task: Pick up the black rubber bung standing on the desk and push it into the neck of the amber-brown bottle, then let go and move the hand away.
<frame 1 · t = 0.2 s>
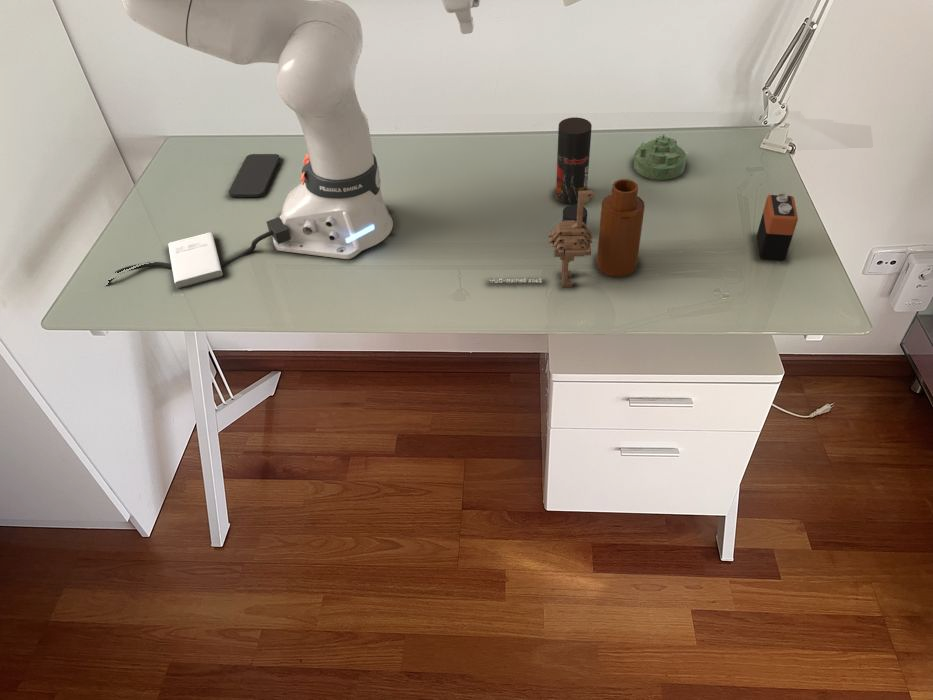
hand: (471, 18, 114), 39 cm above the table, tool pointing down, fingers open, 8 cm apart
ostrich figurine: (538, 282, 130), on the table
bottle: (616, 264, 132), on the table
deodorant: (571, 196, 148), on the table
bung: (573, 233, 139), on the table
decorative artifact: (658, 167, 153), on the table
phone: (255, 177, 158), on the table
battery: (769, 249, 133), on the table
hard drive: (196, 263, 139), on the table
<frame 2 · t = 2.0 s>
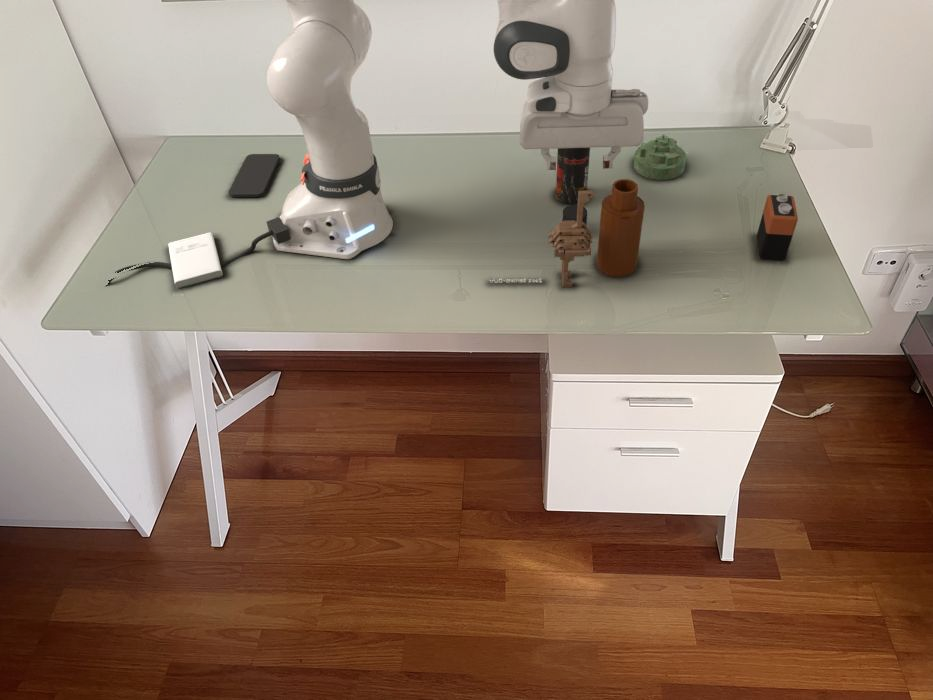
hand: (579, 167, 129), 14 cm above the table, tool pointing down, fingers open, 8 cm apart
nothing on the table moved.
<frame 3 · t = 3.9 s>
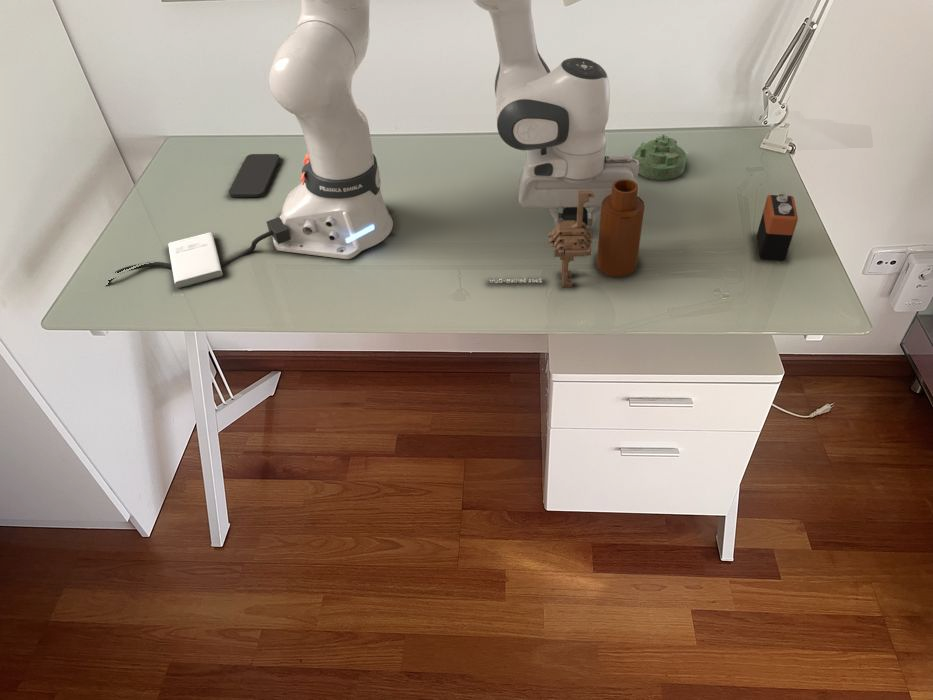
hand: (574, 223, 138), 2 cm above the table, tool pointing down, fingers closed on bung, 4 cm apart
bung: (573, 233, 139), on the table, touching gripper
everything else where it was.
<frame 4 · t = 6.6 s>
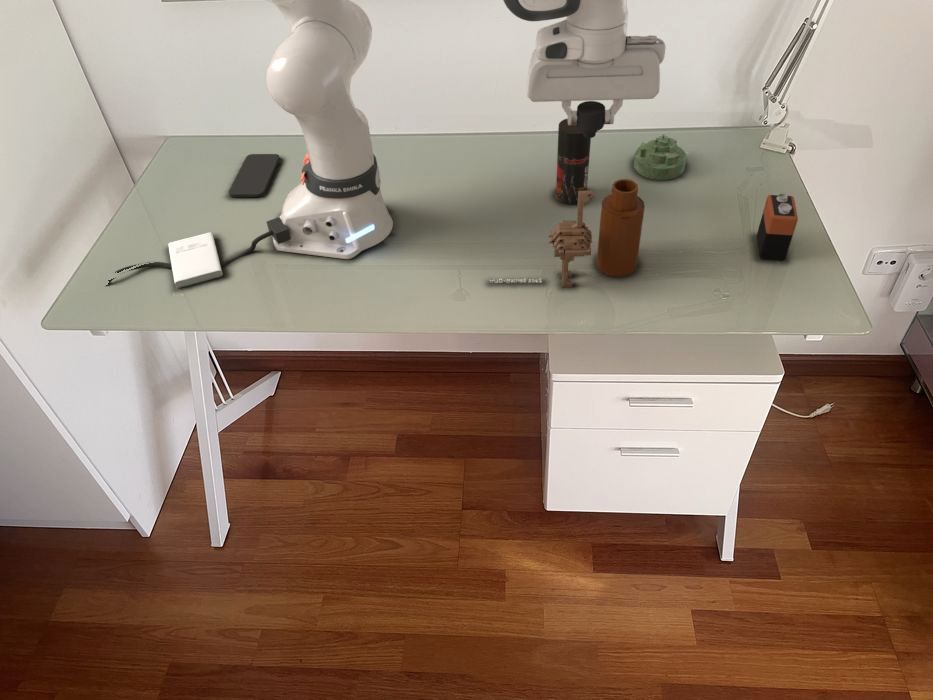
hand: (590, 123, 121), 23 cm above the table, tool pointing down, fingers closed on bung, 4 cm apart
bung: (589, 135, 123), point 21 cm above the table, touching gripper
everything else where it was.
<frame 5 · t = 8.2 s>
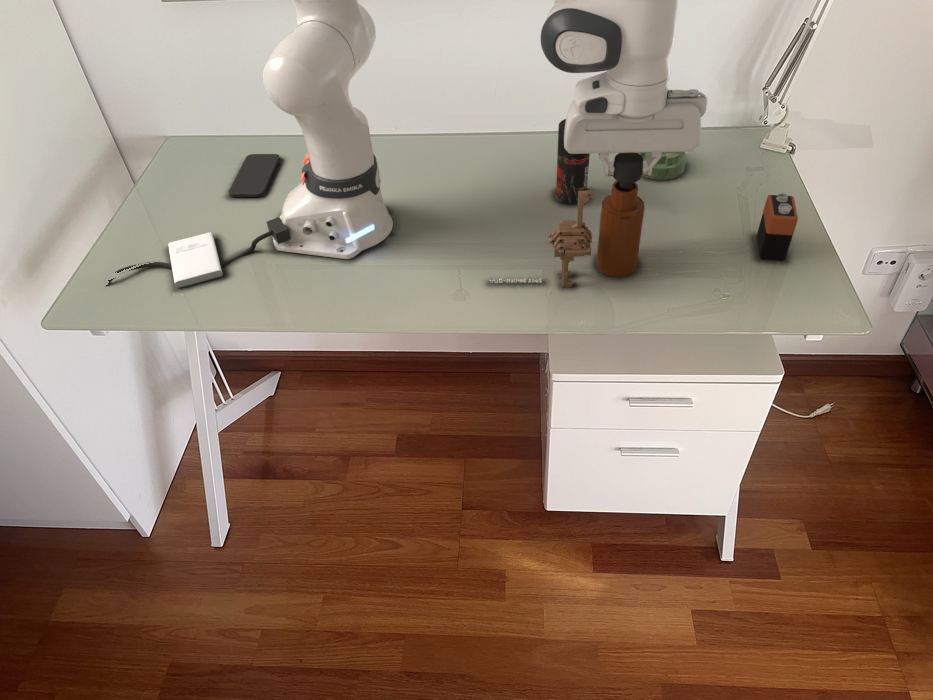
hand: (626, 173, 119), 18 cm above the table, tool pointing down, fingers closed on bung, 4 cm apart
bung: (625, 185, 121), point 16 cm above the table, touching gripper
everything else where it was.
when the fingers open (16 cm above the table, at t = 9.2 s): bung stays where it is, resting on bottle.
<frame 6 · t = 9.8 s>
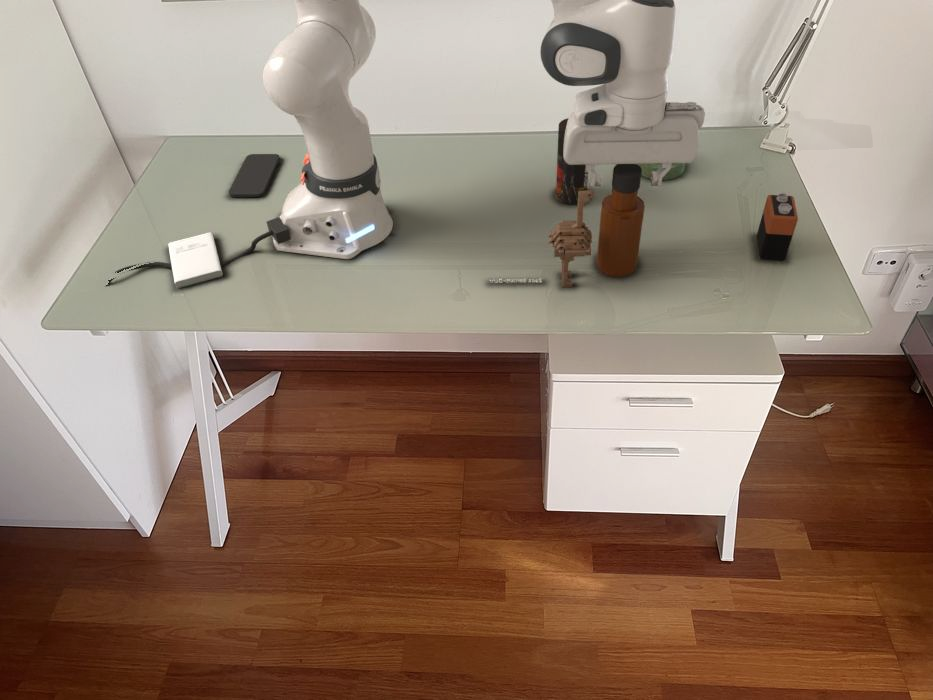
hand: (625, 184, 121), 16 cm above the table, tool pointing down, fingers open, 8 cm apart
bung: (624, 195, 122), point 14 cm above the table, touching bottle
everything else where it was.
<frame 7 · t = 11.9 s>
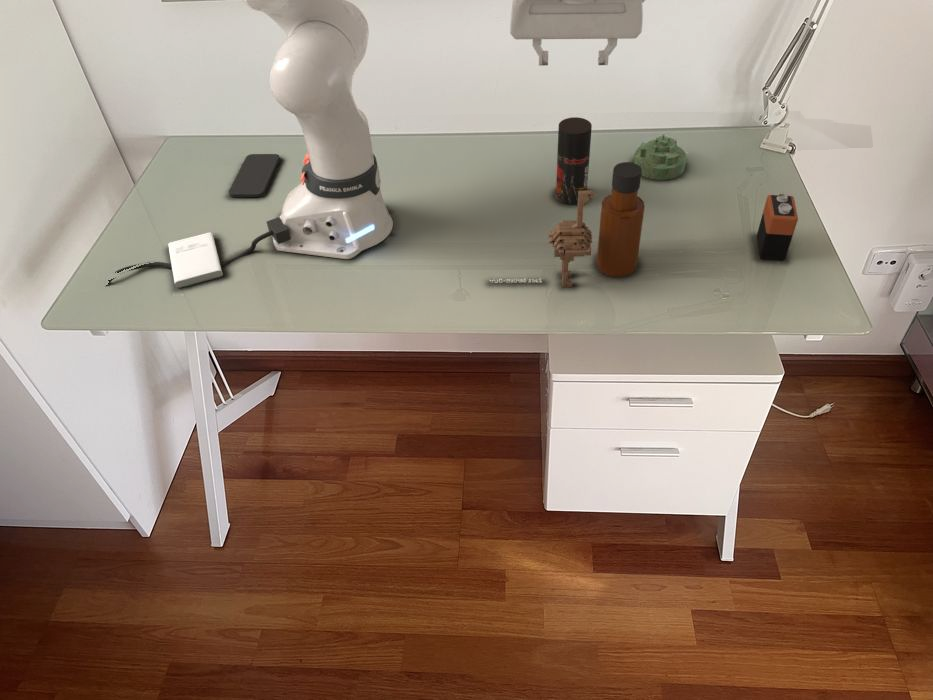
hand: (572, 63, 121), 30 cm above the table, tool pointing down, fingers open, 8 cm apart
nothing on the table moved.
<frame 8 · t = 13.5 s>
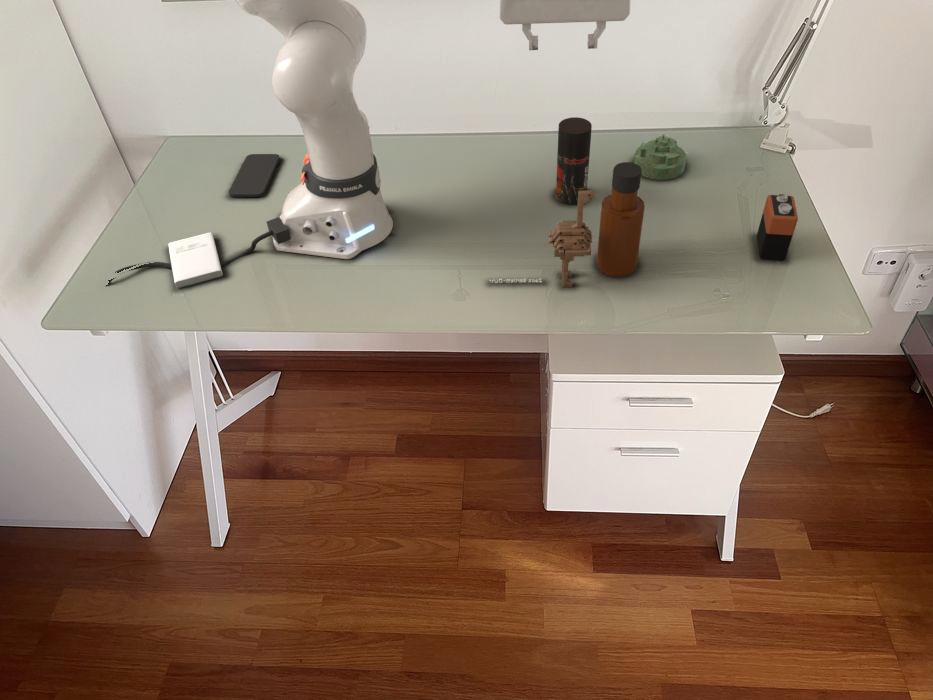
hand: (562, 48, 123), 31 cm above the table, tool pointing down, fingers open, 8 cm apart
nothing on the table moved.
at the end: bung 0.1 cm off-centre in the bottle, point 14.2 cm above the bottle's base; bung tilted 0°; the gripper is holding nothing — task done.
